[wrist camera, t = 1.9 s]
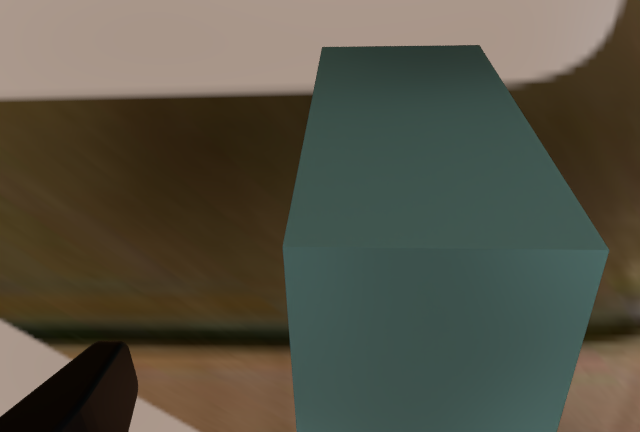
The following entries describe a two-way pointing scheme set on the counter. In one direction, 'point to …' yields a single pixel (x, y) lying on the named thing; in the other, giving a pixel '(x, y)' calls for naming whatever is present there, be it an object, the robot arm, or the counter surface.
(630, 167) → the counter surface
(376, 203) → the teal block
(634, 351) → the counter surface
